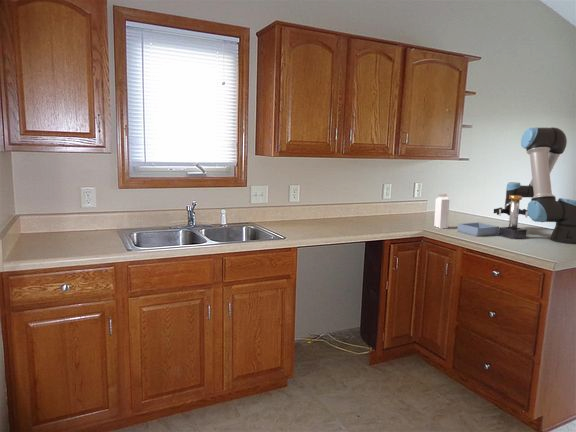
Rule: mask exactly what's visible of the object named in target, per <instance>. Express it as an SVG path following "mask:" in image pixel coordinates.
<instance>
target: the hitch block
mask: <svg viewBox="0 0 576 432" xmlns="http://www.w3.org/2000/svg"><path fill="white" fill-rule="evenodd" d="M498 227H499V234H498V237H501V238H502V237H503V238H506V239H511V240H517V239H519V240H520V239H527V232H528V229H527V228H521V227H517V230H512V229H509V226H502V227H500V226H498Z"/></svg>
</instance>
